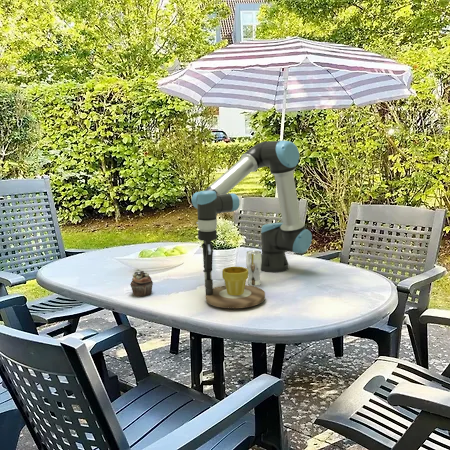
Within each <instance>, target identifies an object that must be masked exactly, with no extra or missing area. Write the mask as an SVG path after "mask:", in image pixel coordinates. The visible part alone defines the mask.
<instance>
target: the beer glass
mask: <svg viewBox="0 0 450 450" xmlns="http://www.w3.org/2000/svg"><path fill="white" fill-rule="evenodd" d="M261 255H262V250H261V251H260V250H249V251H246V255H245V259H246V260H245V263H246V268H247V269H248V278H247V279H248V280H247V285H249V286H254V287H260V286H261V285H262V281H261V272H262V270H261V266H262V256H261Z"/></svg>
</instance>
